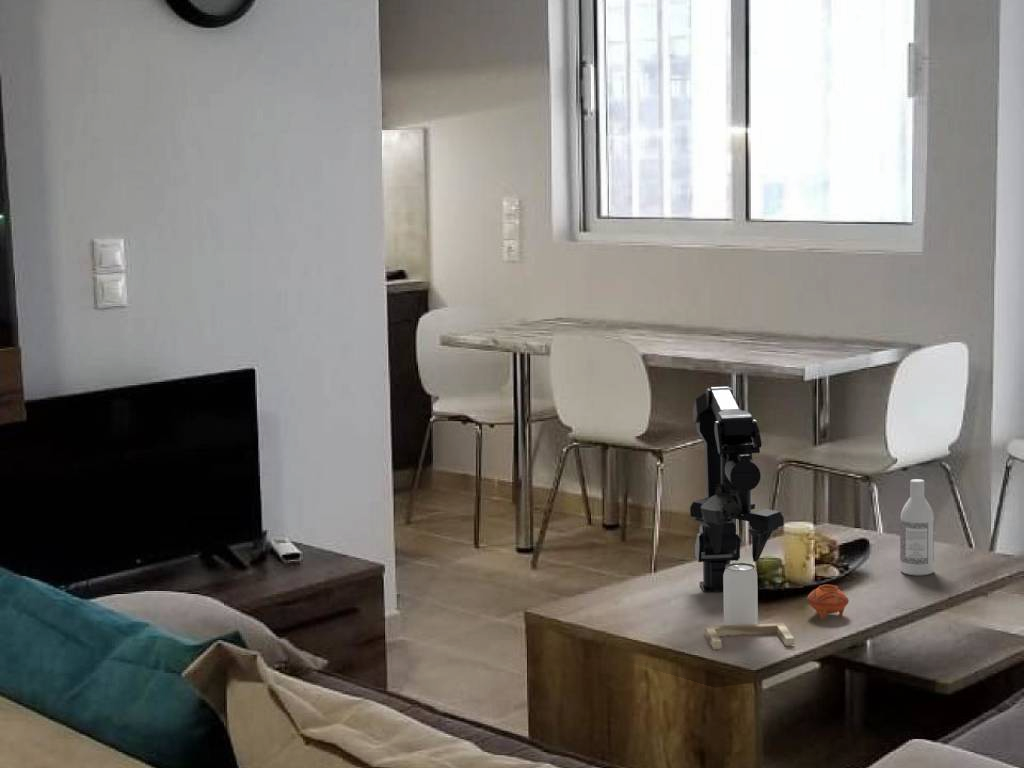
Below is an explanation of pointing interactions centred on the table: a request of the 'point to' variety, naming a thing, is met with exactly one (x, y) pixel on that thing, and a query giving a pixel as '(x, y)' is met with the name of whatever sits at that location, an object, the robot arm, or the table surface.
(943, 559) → the table surface
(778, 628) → the cradle
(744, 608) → the can
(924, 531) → the bath foam
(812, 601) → the pot
